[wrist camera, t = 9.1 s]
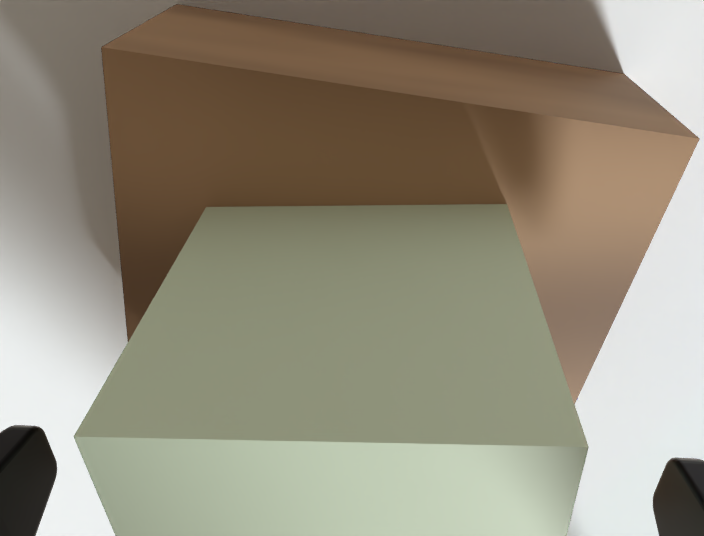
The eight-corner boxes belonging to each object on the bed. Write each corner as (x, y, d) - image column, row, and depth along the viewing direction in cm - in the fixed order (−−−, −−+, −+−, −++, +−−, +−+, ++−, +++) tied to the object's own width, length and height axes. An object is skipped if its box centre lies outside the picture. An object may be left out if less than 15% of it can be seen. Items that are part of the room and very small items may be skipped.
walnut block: (501, 384, 17) (526, 507, 14) (188, 340, 17) (137, 452, 14) (617, 68, 12) (700, 138, 9) (182, 0, 12) (101, 47, 9)
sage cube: (483, 420, 13) (526, 692, 8) (246, 416, 13) (174, 674, 9) (506, 204, 10) (588, 446, 6) (206, 206, 10) (73, 436, 6)
